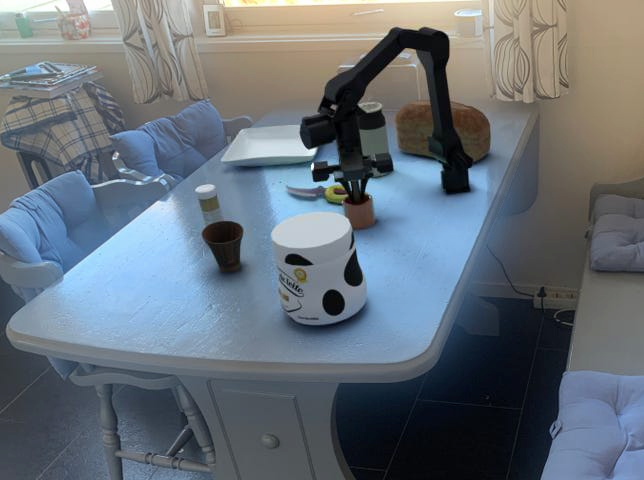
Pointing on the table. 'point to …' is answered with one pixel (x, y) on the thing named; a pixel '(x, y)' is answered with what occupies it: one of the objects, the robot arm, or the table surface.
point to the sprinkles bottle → (209, 204)
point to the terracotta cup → (359, 212)
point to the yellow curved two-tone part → (331, 193)
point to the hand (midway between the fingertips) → (357, 201)
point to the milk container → (318, 269)
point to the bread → (418, 125)
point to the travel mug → (373, 131)
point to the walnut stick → (356, 192)
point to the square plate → (268, 147)
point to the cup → (225, 243)
